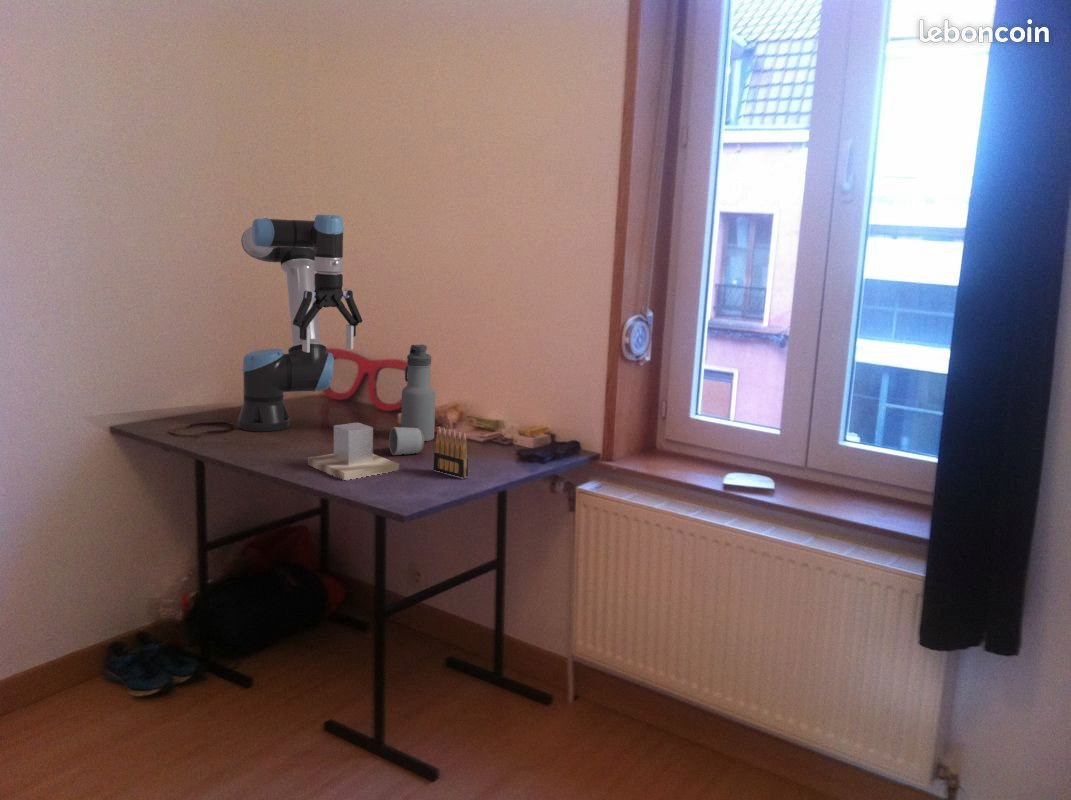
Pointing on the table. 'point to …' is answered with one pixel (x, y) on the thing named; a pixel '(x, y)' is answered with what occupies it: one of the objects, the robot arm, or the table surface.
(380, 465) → the base
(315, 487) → the table surface
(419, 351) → the water bottle
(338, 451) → the mottled grey cube
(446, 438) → the ammunition clip
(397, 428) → the ceramic mug
